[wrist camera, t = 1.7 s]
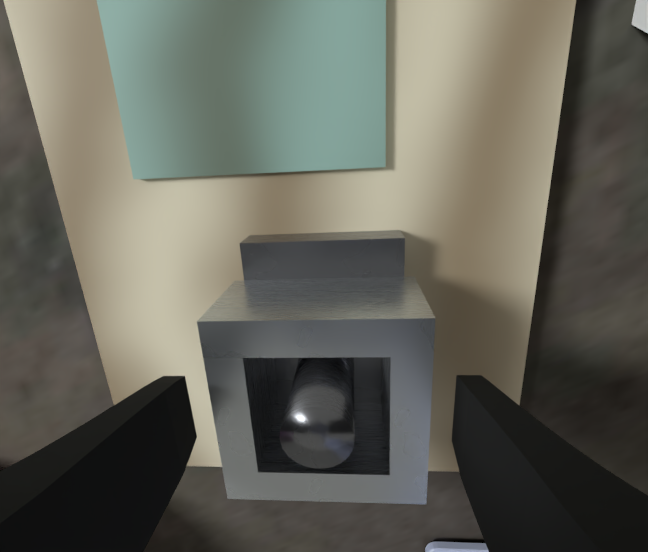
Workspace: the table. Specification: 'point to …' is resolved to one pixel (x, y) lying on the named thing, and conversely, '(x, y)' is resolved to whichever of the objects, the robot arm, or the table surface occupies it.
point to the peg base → (323, 373)
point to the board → (298, 162)
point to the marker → (641, 15)
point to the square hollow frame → (321, 342)
